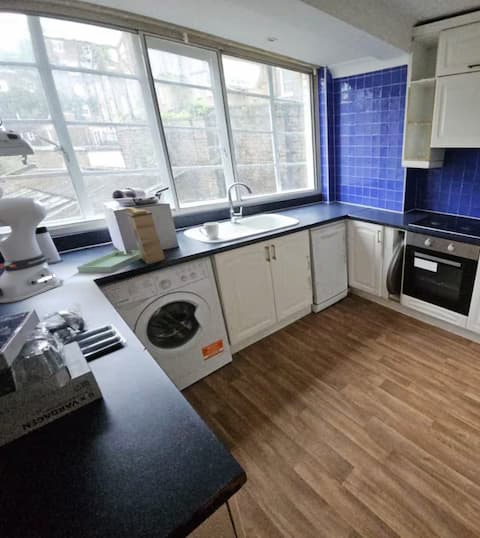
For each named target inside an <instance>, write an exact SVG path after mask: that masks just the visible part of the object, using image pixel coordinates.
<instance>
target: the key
mask: <svg viewBox="0 0 480 538" xmlns="http://www.w3.org/2000/svg"><path fill="white" fill-rule="evenodd" d="M125 211H126V212H132V214H135V215H137V214H143V213H147V211H148V210H146V209H138V208H135V207H132V206H131V207H129V206H128V207H126V208H125Z"/></svg>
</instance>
